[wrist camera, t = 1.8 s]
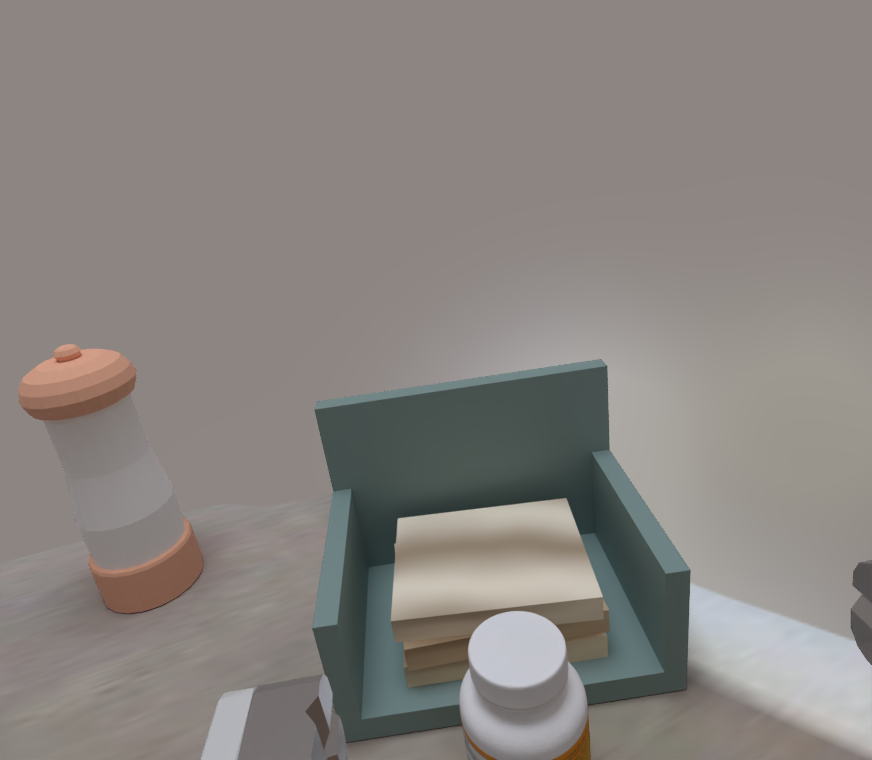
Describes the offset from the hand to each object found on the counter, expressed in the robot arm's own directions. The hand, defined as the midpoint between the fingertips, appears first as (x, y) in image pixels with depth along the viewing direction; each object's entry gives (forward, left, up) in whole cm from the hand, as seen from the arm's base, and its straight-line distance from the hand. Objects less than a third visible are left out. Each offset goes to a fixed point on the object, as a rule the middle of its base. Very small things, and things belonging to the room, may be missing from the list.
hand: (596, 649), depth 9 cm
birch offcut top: (-8, +21, -17) cm, 28 cm away
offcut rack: (-8, +21, -22) cm, 31 cm away
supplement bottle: (-4, +11, -22) cm, 25 cm away
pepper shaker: (-35, +21, -22) cm, 47 cm away
